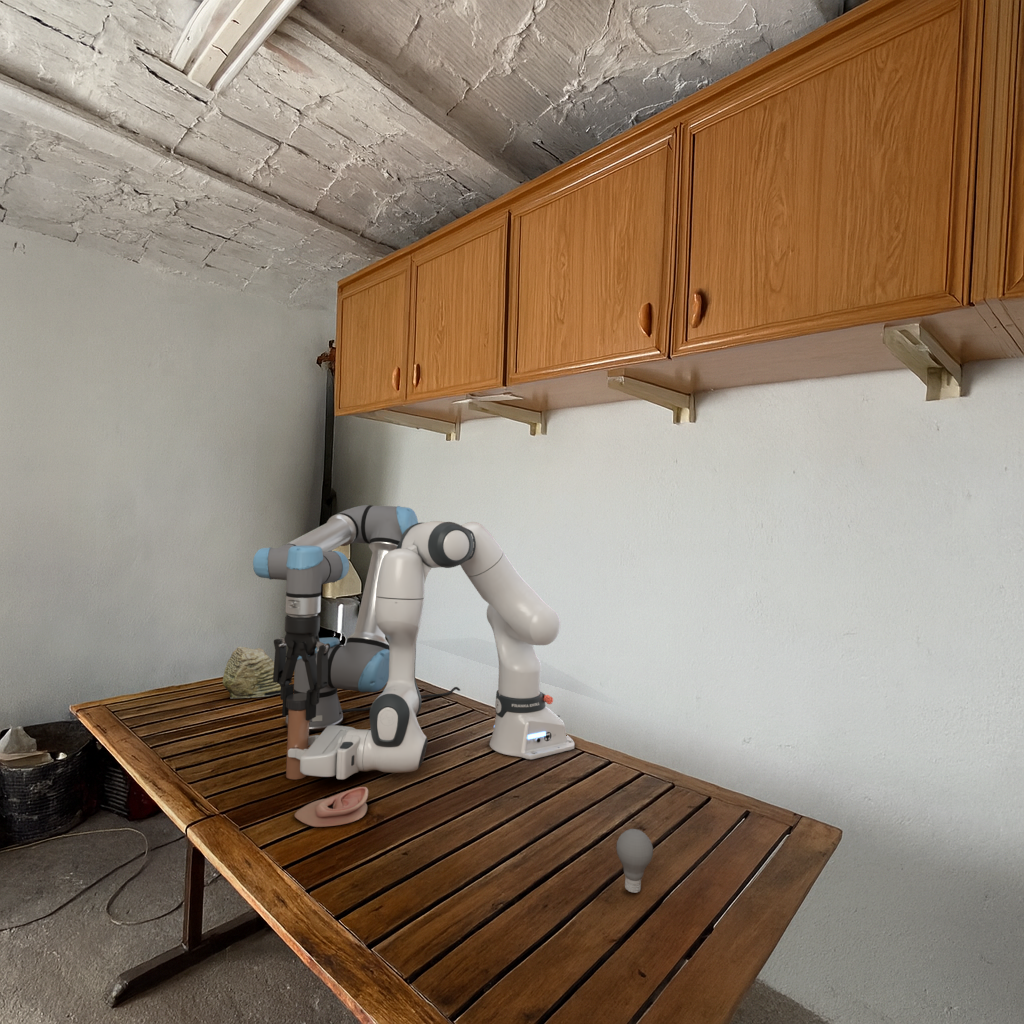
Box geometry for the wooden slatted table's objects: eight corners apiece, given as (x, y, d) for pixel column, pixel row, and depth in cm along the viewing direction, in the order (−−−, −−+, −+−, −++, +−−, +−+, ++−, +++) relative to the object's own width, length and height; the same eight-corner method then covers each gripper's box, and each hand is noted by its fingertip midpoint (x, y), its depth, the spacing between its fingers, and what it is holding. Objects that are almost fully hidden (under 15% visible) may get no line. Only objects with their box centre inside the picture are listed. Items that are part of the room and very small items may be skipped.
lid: (307, 710, 140) (307, 701, 140) (281, 709, 141) (282, 700, 140) (316, 702, 146) (316, 693, 146) (291, 701, 146) (292, 692, 146)
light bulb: (610, 879, 108) (613, 822, 108) (644, 879, 109) (647, 822, 109) (619, 902, 102) (622, 840, 102) (655, 901, 103) (658, 840, 103)
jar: (283, 773, 144) (286, 698, 144) (303, 769, 147) (306, 695, 146) (289, 781, 140) (292, 704, 140) (310, 776, 143) (313, 700, 143)
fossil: (218, 695, 195) (220, 647, 195) (278, 685, 208) (279, 640, 207) (228, 703, 189) (230, 653, 188) (289, 692, 201) (290, 645, 201)
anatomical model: (286, 802, 122) (316, 777, 134) (285, 822, 122) (315, 795, 134) (350, 811, 120) (375, 785, 131) (349, 832, 120) (374, 804, 131)
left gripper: (257, 612, 142) (253, 715, 143) (328, 621, 136) (324, 728, 137) (279, 608, 149) (276, 705, 150) (347, 615, 143) (343, 717, 144)
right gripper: (366, 720, 154) (309, 717, 154) (342, 753, 133) (277, 750, 133) (365, 745, 154) (308, 743, 154) (341, 783, 133) (276, 780, 133)
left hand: (299, 716), depth 143 cm, fingers closed on lid, 6 cm apart
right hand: (293, 746), depth 143 cm, fingers closed on jar, 4 cm apart
